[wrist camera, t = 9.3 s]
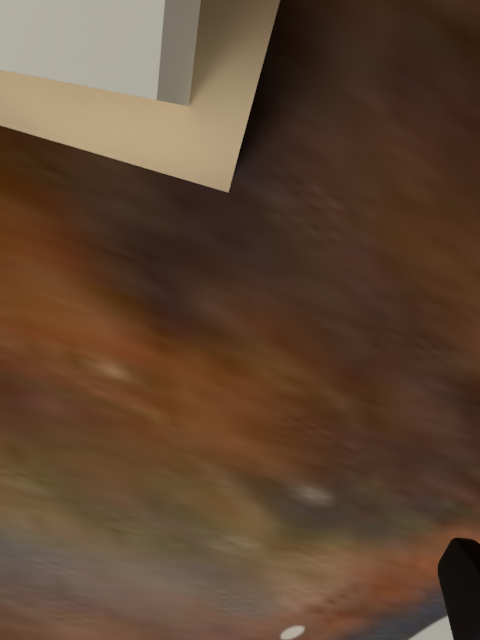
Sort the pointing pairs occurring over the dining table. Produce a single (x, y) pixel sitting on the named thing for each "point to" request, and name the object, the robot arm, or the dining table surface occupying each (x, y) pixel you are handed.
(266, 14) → the oak block
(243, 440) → the dining table surface
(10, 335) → the dining table surface
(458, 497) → the dining table surface
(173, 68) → the off-white plain cube
